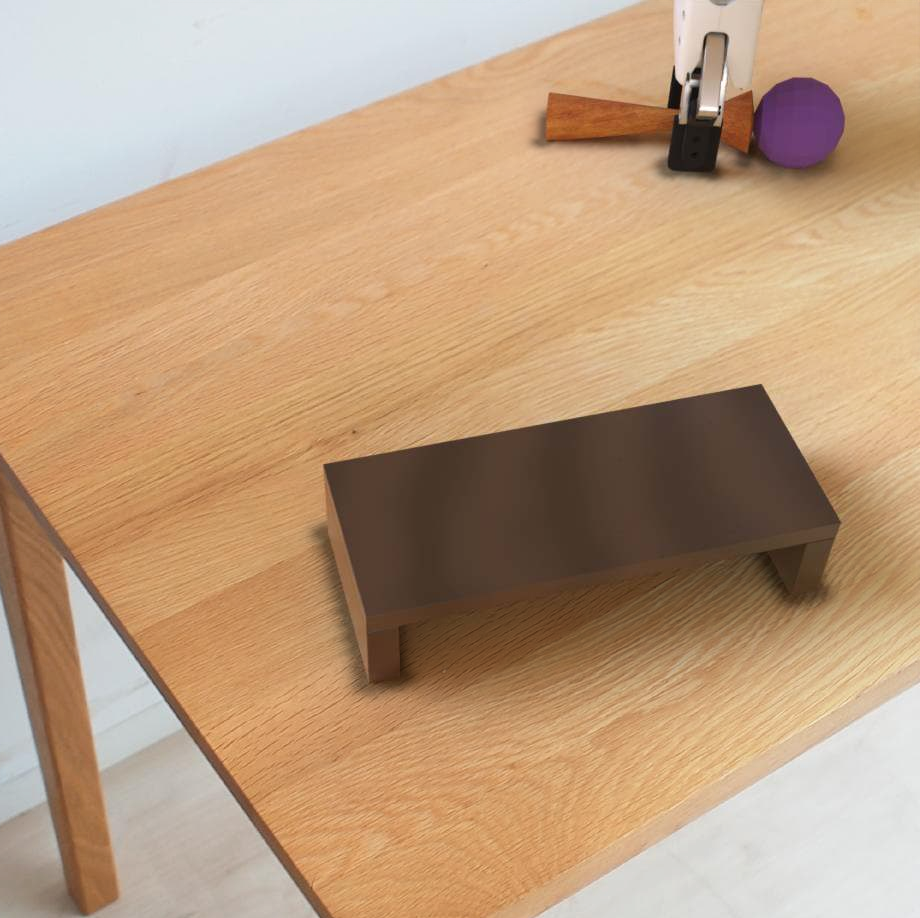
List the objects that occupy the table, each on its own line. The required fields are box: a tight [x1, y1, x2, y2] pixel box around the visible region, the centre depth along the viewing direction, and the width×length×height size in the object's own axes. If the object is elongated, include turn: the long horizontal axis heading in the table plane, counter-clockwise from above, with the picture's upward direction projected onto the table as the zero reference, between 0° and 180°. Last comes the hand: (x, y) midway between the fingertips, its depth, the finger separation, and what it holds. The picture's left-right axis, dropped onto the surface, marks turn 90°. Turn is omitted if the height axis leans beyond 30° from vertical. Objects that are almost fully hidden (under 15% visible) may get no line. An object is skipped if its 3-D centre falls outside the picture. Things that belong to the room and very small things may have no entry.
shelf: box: [322, 383, 842, 684], centre depth 75 cm, size 24×10×6 cm, turn 104°
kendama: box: [545, 76, 846, 169], centre depth 99 cm, size 6×6×20 cm
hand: (689, 140), depth 100 cm, fingers closed on kendama, 5 cm apart
